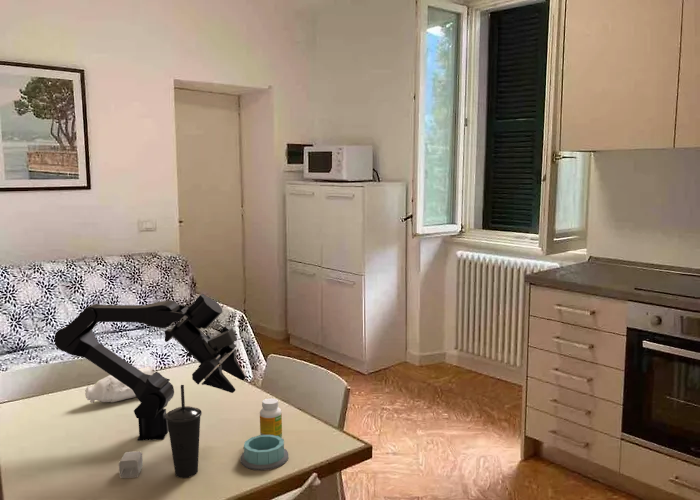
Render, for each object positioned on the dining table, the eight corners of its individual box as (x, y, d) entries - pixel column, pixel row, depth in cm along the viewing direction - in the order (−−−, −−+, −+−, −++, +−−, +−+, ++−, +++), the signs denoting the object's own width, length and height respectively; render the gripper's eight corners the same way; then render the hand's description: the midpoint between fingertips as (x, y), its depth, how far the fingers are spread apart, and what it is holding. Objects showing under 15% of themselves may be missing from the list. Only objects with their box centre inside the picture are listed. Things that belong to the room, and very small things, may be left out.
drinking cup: (172, 465, 137) (168, 380, 135) (206, 463, 138) (202, 378, 136) (165, 482, 130) (160, 392, 127) (201, 480, 130) (197, 390, 128)
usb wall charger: (142, 467, 137) (142, 451, 136) (135, 483, 130) (134, 465, 129) (124, 469, 136) (123, 452, 136) (116, 484, 129) (115, 466, 129)
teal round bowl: (238, 471, 134) (237, 455, 134) (242, 449, 145) (242, 434, 144) (287, 468, 135) (287, 452, 134) (288, 447, 146) (288, 432, 145)
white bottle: (83, 403, 176) (81, 377, 176) (147, 388, 188) (145, 363, 187) (91, 411, 170) (89, 384, 169) (156, 395, 182) (155, 369, 181)
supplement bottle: (278, 443, 148) (277, 405, 147) (257, 442, 149) (256, 404, 148) (285, 434, 153) (283, 397, 152) (264, 433, 154) (263, 396, 153)
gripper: (203, 328, 139) (251, 375, 140) (227, 310, 158) (270, 352, 158) (171, 360, 141) (219, 407, 141) (199, 339, 159) (241, 380, 160)
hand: (239, 385), depth 150 cm, fingers open, 9 cm apart
